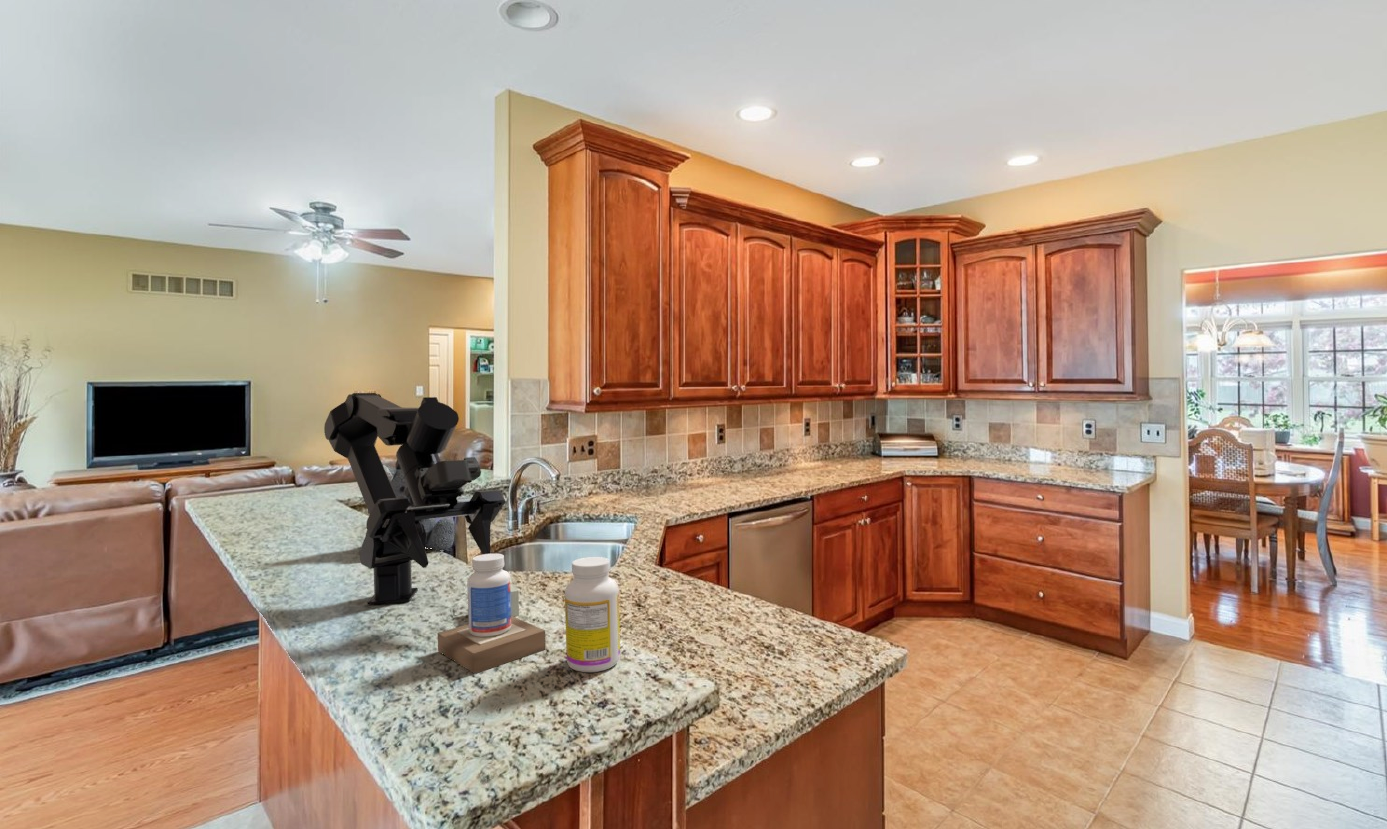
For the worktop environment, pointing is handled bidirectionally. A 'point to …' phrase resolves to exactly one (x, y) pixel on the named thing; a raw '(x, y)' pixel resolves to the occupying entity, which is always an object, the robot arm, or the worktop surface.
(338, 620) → the worktop surface
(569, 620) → the supplement bottle
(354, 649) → the worktop surface
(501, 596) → the pill bottle
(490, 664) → the plinth
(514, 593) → the block
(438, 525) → the koala plush
